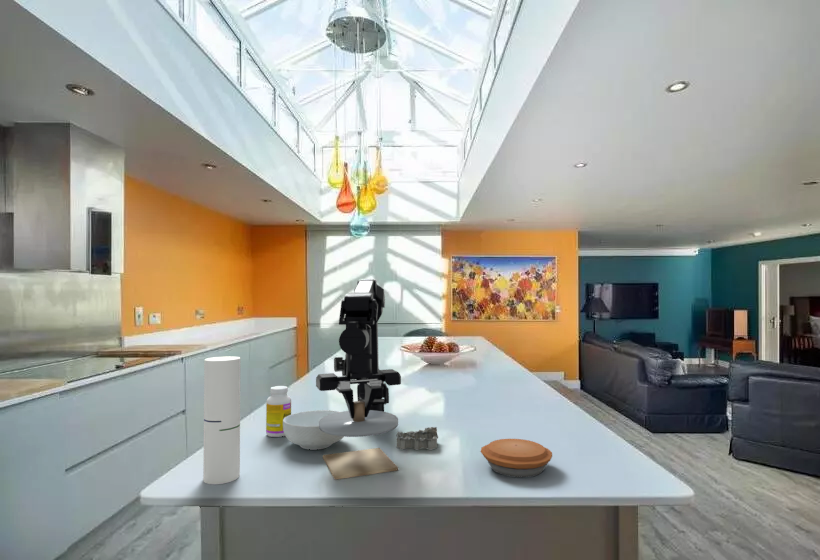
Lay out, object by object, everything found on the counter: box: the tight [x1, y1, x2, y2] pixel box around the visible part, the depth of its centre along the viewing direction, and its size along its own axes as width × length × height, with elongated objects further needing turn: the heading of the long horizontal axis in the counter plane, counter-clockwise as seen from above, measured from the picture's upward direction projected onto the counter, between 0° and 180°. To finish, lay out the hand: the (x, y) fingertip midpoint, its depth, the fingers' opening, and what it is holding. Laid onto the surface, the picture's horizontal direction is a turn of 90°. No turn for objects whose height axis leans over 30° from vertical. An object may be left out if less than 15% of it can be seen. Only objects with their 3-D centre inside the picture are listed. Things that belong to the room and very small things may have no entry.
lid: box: [319, 400, 399, 438], centre depth 106 cm, size 18×18×5 cm
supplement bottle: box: [265, 385, 292, 438], centre depth 128 cm, size 7×7×13 cm
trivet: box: [322, 447, 399, 480], centre depth 105 cm, size 14×14×1 cm
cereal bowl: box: [283, 409, 344, 451], centre depth 119 cm, size 17×17×7 cm
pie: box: [479, 438, 553, 478], centre depth 103 cm, size 15×16×5 cm
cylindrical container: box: [202, 355, 241, 485], centre depth 98 cm, size 7×7×25 cm
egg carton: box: [396, 426, 439, 451], centre depth 118 cm, size 11×8×4 cm
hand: (358, 417), depth 106 cm, fingers closed on lid, 3 cm apart
